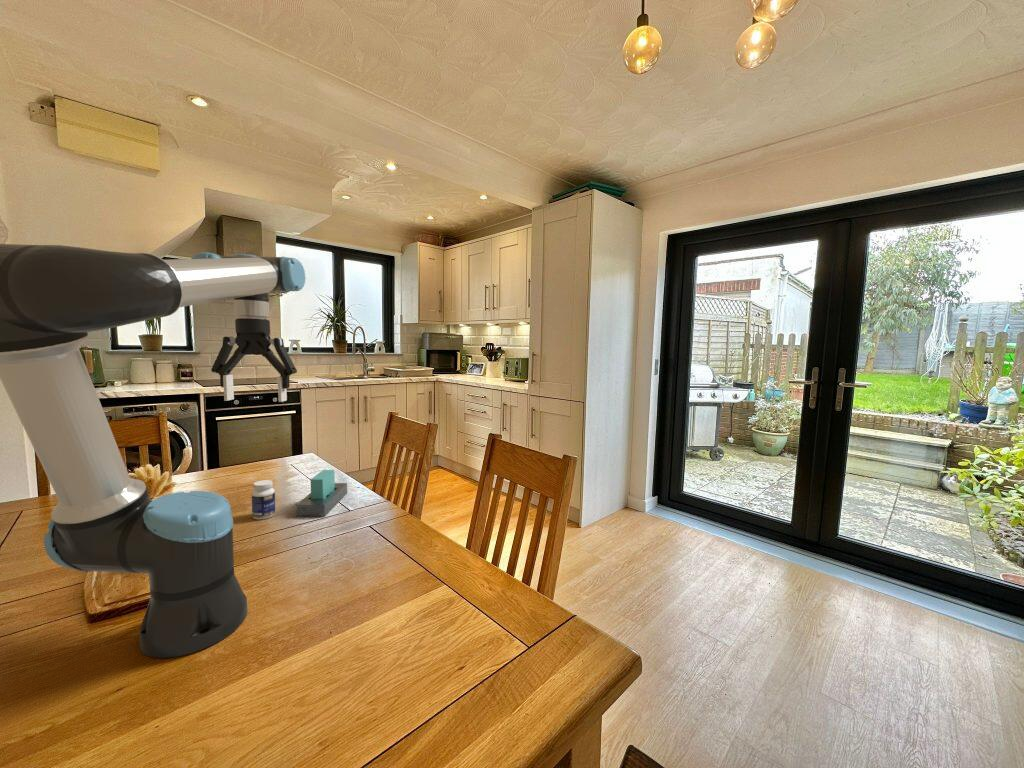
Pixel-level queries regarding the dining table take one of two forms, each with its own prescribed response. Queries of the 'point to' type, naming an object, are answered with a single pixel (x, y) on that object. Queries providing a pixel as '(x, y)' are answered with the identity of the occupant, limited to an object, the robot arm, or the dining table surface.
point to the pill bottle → (263, 500)
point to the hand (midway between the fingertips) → (256, 400)
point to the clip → (322, 484)
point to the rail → (321, 503)
